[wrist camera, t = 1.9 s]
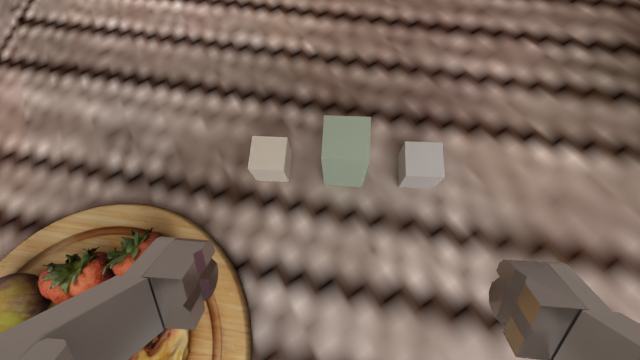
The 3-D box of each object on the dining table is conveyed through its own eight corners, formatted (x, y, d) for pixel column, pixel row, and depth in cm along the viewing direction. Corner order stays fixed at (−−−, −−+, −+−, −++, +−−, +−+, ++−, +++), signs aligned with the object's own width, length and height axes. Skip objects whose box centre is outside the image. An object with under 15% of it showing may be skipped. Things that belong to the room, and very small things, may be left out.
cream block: (292, 151, 38) (287, 137, 34) (289, 181, 36) (283, 170, 33) (260, 150, 38) (252, 135, 34) (256, 180, 37) (247, 169, 33)
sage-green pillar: (362, 152, 37) (370, 117, 29) (362, 187, 36) (370, 160, 28) (326, 150, 37) (324, 115, 29) (324, 185, 36) (321, 158, 28)
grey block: (431, 156, 36) (442, 142, 33) (433, 188, 35) (444, 177, 31) (397, 155, 37) (404, 141, 33) (398, 186, 36) (406, 175, 32)
